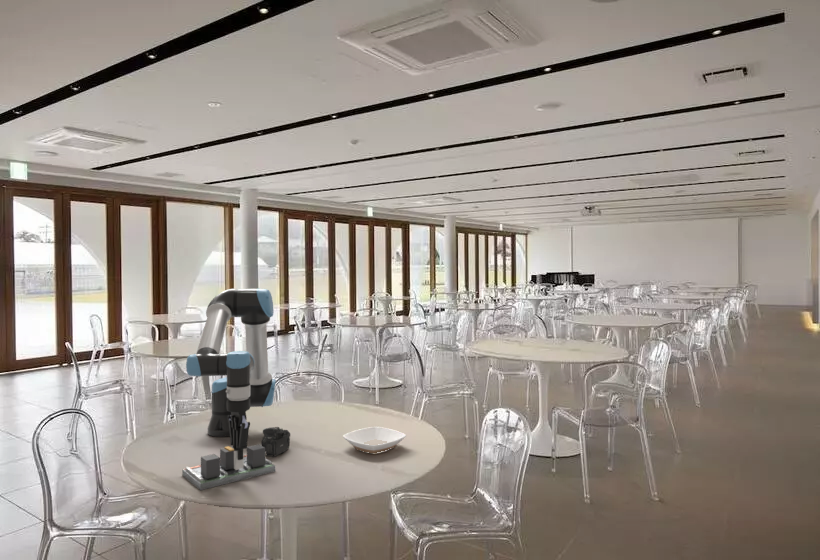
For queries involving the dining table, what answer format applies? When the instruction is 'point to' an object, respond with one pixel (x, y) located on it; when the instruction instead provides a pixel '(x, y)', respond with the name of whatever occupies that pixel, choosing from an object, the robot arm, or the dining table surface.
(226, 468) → the block
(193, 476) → the panel
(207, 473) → the block
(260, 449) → the breaker
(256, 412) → the dining table surface
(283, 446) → the camera
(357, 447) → the bowl
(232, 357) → the robot arm
